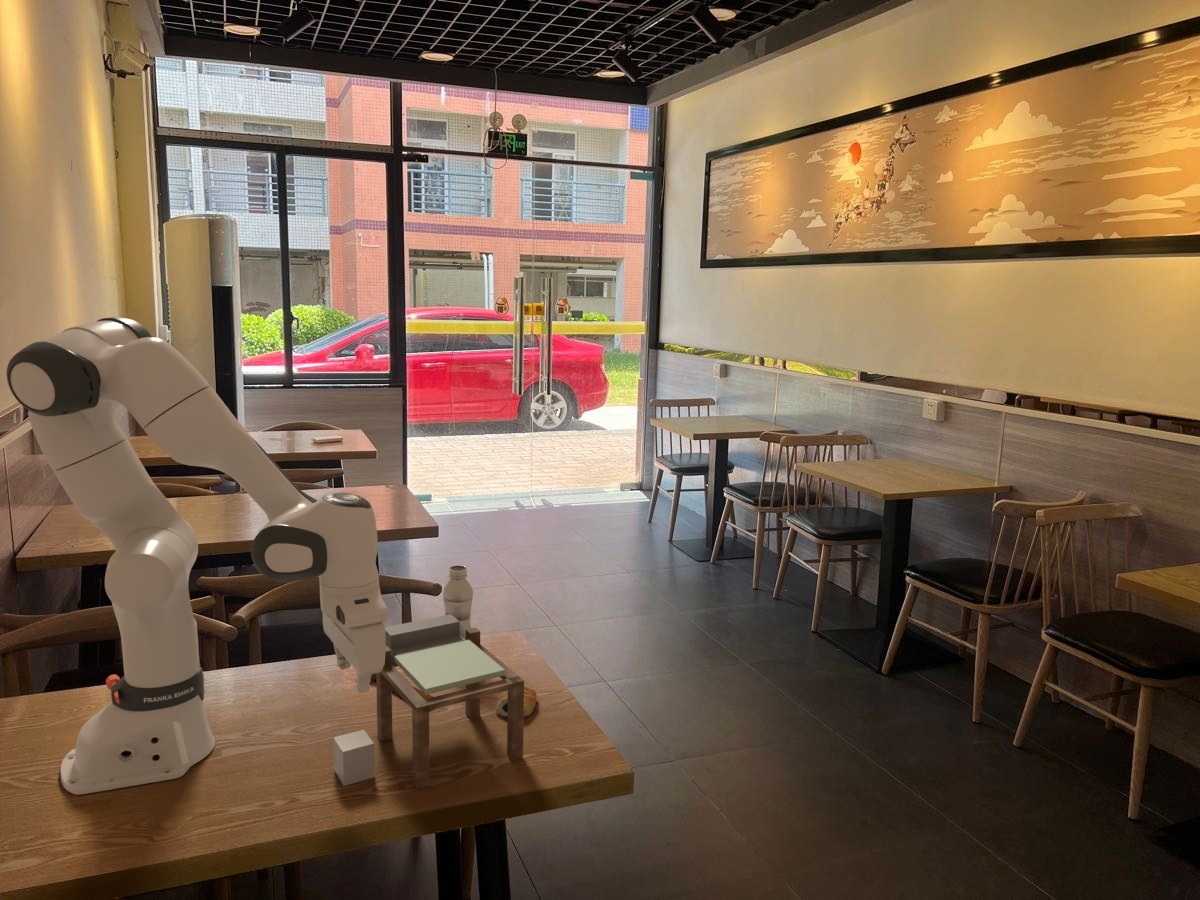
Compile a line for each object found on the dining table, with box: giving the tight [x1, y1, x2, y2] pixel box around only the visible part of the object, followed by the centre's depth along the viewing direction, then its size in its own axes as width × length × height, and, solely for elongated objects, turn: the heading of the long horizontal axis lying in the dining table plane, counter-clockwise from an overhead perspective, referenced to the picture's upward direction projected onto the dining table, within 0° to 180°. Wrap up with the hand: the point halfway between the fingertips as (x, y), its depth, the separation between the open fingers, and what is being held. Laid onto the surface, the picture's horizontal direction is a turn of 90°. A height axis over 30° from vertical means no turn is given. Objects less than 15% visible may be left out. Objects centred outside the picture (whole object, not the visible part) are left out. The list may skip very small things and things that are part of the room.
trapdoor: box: [385, 614, 505, 695], centre depth 149 cm, size 14×21×6 cm, turn 33°
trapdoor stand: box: [376, 626, 525, 791], centre depth 148 cm, size 19×19×16 cm
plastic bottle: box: [442, 564, 474, 639], centre depth 182 cm, size 6×7×20 cm
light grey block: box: [333, 729, 376, 787], centre depth 140 cm, size 5×5×6 cm
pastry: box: [495, 686, 537, 718], centre depth 164 cm, size 9×7×4 cm
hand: (353, 678), depth 137 cm, fingers open, 8 cm apart
